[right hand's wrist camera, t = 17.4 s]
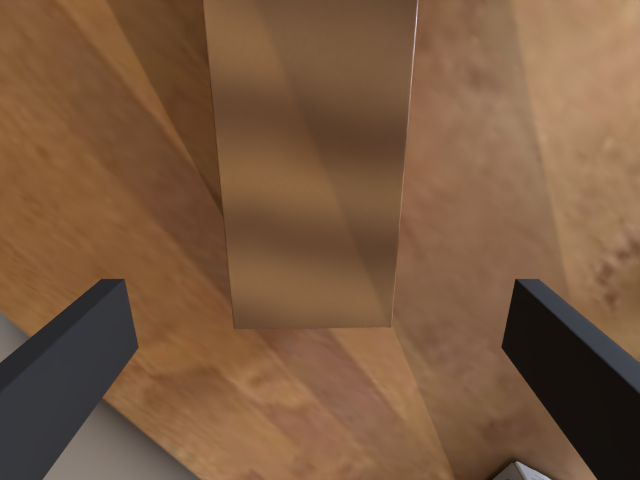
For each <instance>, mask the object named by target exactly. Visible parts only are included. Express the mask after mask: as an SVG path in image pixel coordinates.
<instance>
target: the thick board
mask: <svg viewBox="0 0 640 480" xmlns="http://www.w3.org/2000/svg"><path fill="white" fill-rule="evenodd" d="M202 1H203V11H204V22H205V32H206V42H207V53H208V63H209V74H210V84H211V94H212V105H213V115H214V126H215V136H216V146H217V157H218V167H219V178H220V188H221V198H222V209H223V219H224V230H225V240H226V250H227V261H228V271H229V282H230V292H231V303H232V313H233V323H234V329H283V328H374V327H392V316H393V304H394V292H395V280H396V268H397V256H398V243H399V231H400V219H401V207H402V195H403V183H404V170H405V158H406V146H407V134H408V122H409V110H410V97H411V85H412V73H413V61H414V49H415V37H416V24H417V12H418V0H202Z"/></svg>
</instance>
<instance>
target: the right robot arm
mask: <svg viewBox="0 0 640 480" xmlns="http://www.w3.org/2000/svg"><path fill="white" fill-rule="evenodd" d="M137 349H138V343H137V338H136V333H135V328H134V323H133V318H132V313H131V309H130V304H129V299H128V294H127V289H126V284H125V279H101V280H100V281H99V282H97V283H96V284H95V285H94V286H93V287H91V288H90V289H89V290H88V291H87V292H85V293H84V294H83V295H82V296H81V297H79V298H78V299H77V300H76V301H75V302H73V303H72V304H71V305H70V306H68V307H67V308H66V309H65V310H64V311H62V312H61V313H60V314H59V315H58V316H56V317H55V318H54V319H53V320H52V321H50V322H49V323H48V324H47V325H46V326H44V327H43V328H42V329H41V330H40V331H38V332H37V333H36V334H35V335H33V336H32V337H31V338H30V339H29V340H27V341H26V342H25V343H24V344H23V345H21V346H20V347H19V348H18V349H17V350H15V351H14V352H13V353H12V354H11V355H9V356H8V357H7V358H6V359H5V360H3V361H2V362H1V363H0V480H42V479H43V478H44V477H45V475H46V474H47V473H48V471H49V470H50V468H51V467H52V466H53V464H54V463H55V462H56V460H57V459H58V457H59V456H60V455H61V453H62V452H63V451H64V449H65V448H66V446H67V445H68V444H69V442H70V441H71V440H72V438H73V437H74V436H75V434H76V433H77V431H78V430H79V429H80V427H81V426H82V425H83V423H84V422H85V420H86V419H87V418H88V416H89V415H90V413H91V412H92V411H93V409H94V408H95V407H96V405H97V404H98V402H99V401H100V400H101V398H102V397H103V396H104V394H105V393H106V392H107V390H108V389H109V387H110V386H111V385H112V383H113V382H114V381H115V379H116V378H117V376H118V375H119V374H120V372H121V371H122V370H123V368H124V367H125V365H126V364H127V363H128V361H129V360H130V359H131V357H132V356H133V354H134V353H135V352H136V350H137ZM502 349H503V350H504V352H505V353H506V354H507V356H508V357H509V359H510V360H511V361H512V363H513V364H514V365H515V367H516V368H517V370H518V371H519V372H520V374H521V375H522V376H523V378H524V379H525V381H526V382H527V383H528V385H529V386H530V387H531V389H532V390H533V392H534V393H535V394H536V396H537V397H538V398H539V400H540V401H541V403H542V404H543V405H544V407H545V408H546V409H547V411H548V412H549V414H550V415H551V416H552V418H553V419H554V420H555V422H556V423H557V425H558V426H559V427H560V429H561V430H562V431H563V433H564V434H565V436H566V437H567V438H568V440H569V441H570V442H571V444H572V445H573V446H574V448H575V449H576V451H577V452H578V453H579V455H580V456H581V457H582V459H583V460H584V462H585V463H586V464H587V466H588V467H589V468H590V470H591V471H592V473H593V474H594V475H595V477H596V478H597V479H598V480H640V362H638V361H637V360H636V359H634V358H633V357H632V356H631V355H629V354H628V353H627V352H626V351H625V350H623V349H622V348H621V347H620V346H619V345H617V344H616V343H615V342H614V341H613V340H611V339H610V338H609V337H608V336H607V335H605V334H604V333H603V332H602V331H600V330H599V329H598V328H597V327H596V326H594V325H593V324H592V323H591V322H590V321H588V320H587V319H586V318H585V317H584V316H582V315H581V314H580V313H579V312H578V311H576V310H575V309H574V308H573V307H572V306H570V305H569V304H568V303H567V302H565V301H564V300H563V299H562V298H561V297H559V296H558V295H557V294H556V293H555V292H553V291H552V290H551V289H550V288H549V287H547V286H546V285H545V284H544V283H543V282H541V281H540V280H539V279H515V284H514V289H513V294H512V299H511V304H510V309H509V313H508V318H507V323H506V328H505V333H504V338H503V343H502Z"/></svg>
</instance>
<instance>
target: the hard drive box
mask: <svg viewBox="0 0 640 480" xmlns="http://www.w3.org/2000/svg"><path fill="white" fill-rule="evenodd" d="M493 480H551V479H549V478H548V477H546V476H545V475H542V474H541V473H539V472H537V471H535V470H533V469H531V468H529V467H527V466H525V465H523V464H522V463H520V462H518V461H516V462H515V463H511V464H510V465H509V466H508V467H506V468H505V469H504V470H503V471H502V472H501V473H499V474H498V475H497V476H496V477H495V478H494V479H493Z"/></svg>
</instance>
